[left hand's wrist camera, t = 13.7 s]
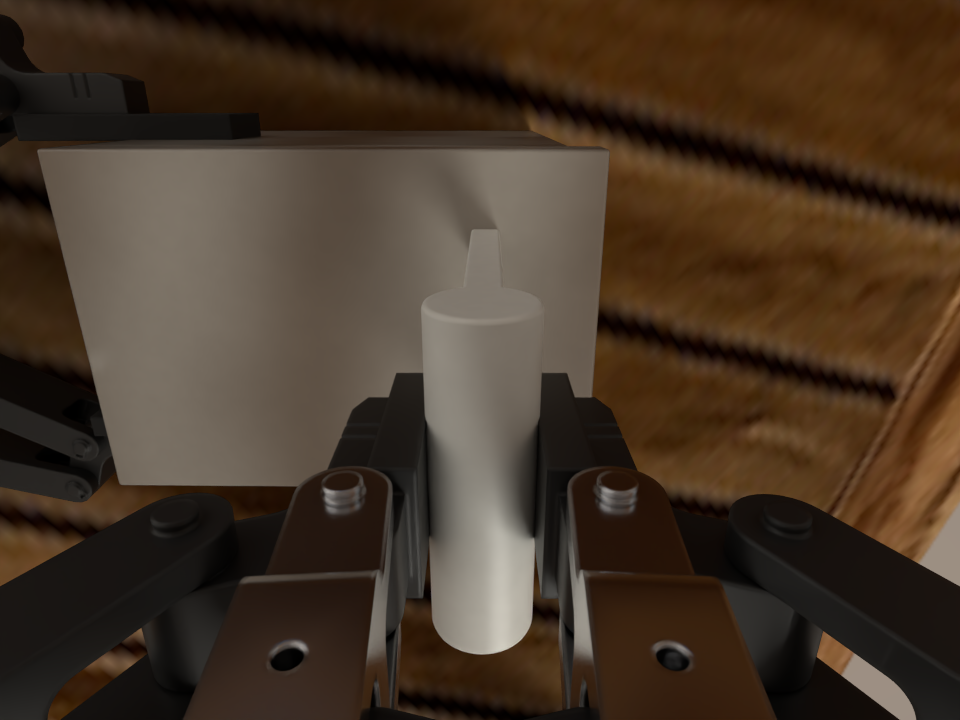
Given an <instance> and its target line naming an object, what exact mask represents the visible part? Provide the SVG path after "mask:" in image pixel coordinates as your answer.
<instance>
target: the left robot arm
mask: <svg viewBox="0 0 960 720" xmlns="http://www.w3.org/2000/svg"><path fill="white" fill-rule="evenodd" d="M429 539H430V526H429V498H428V470H427V442H426V418H425V405H424V378H423V373H396V375H395V378H394V382H393V385H392V388H391V391H390V394H389V397H368V398H367V399H366V400H364V401H363V402H362V403H360V404H359V405H358V406H356V407H355V408H354V409H352V411H351V414H350V416H349V419H348V421H347V423H346V426H345V428H344V431H343V433H342V438H340V440H339V442H338V445H337V447H336V450H335V452H334V454H333V457H332V459H331V461H330V464H329V466H328V469H327V470H324V471H322V472H319V473H317V474H315V475H312V476H311V477H309V478H307V479H306V480H304V481H303V482H302V483H301V484H300V485H299V486H298V487H297V488H296V490H295V492H294V494H293V497H292V500H291V503H290V505H289V508H288V509H286V510H283V511H280V512H277V513H272V514H268V515H263V516H258V517H253V518H248V519H243V520H238V521H234V515H233V509H232V506H231V504H230V503H229V502H228V501H227V500H226V499H224V498H222V497H220V496H217V495H214V494H208V493H188V494H181V495H176V496H171V497H168V498H165V499H161V500H159V501H156V502H154V503H152V504H150V505H148V506H146V507H144V508H142V509H140V510H138V511H136V512H134V513H133V514H131V515H129V516H127V517H125V518H124V519H122V520H120V521H118V522H116V523H114V524H113V525H111V526H109V527H107V528H105V529H104V530H102V531H100V532H98V533H96V534H95V535H93V536H91V537H89V538H87V539H85V540H84V541H82V542H80V543H78V544H76V545H75V546H73V547H71V548H69V549H67V550H66V551H64V552H62V553H60V554H58V555H56V556H55V557H53V558H51V559H49V560H47V561H46V562H44V563H42V564H40V565H38V566H36V567H35V568H33V569H31V570H29V571H27V572H26V573H24V574H22V575H20V576H18V577H17V578H15V579H13V580H11V581H9V582H7V583H6V584H4V585H2V586H0V720H47V718H48V712H49V708H50V706H51V703H52V701H53V699H54V698H55V696H56V694H57V693H58V692H59V690H60V689H61V688H62V687H63V685H64V684H65V683H66V682H67V681H68V680H69V679H71V678H72V677H73V676H74V675H76V674H77V673H78V672H80V671H81V670H83V669H84V668H85V667H87V666H88V665H90V664H91V663H92V662H94V661H95V660H97V659H98V658H99V657H101V656H102V655H104V654H105V653H106V652H108V651H109V650H111V649H112V648H113V647H115V646H116V645H118V644H119V643H120V642H122V641H123V640H125V639H126V638H127V637H129V636H130V635H132V634H133V633H134V632H136V631H137V630H139V629H140V628H142V632H143V635H144V639H145V643H146V647H147V651H148V654H147V655H145V656H144V657H143V658H141V659H140V660H139V661H137V662H136V663H135V664H133V665H132V666H131V667H130V668H128V669H127V670H126V671H124V672H123V673H122V674H120V675H119V676H118V677H116V678H115V679H114V680H112V681H111V682H110V683H108V684H107V685H106V686H104V687H103V688H102V689H100V690H99V691H98V692H97V693H95V694H94V695H93V696H91V697H90V698H89V699H87V700H86V701H85V702H83V703H82V704H81V705H79V706H78V707H77V708H75V709H74V710H73V711H71V712H70V713H69V714H67V715H66V716H65V717H64V718H62V719H61V720H435V719H431V718H427V717H422V716H418V715H414V714H410V713H406V712H402V711H398V710H397V708H398V690H399V672H400V654H401V624H400V622H401V620H402V618H403V614H404V608H405V602H406V598H423V591H424V582H425V574H426V565H427V556H428V547H429ZM534 542H535V550H536V559H537V567H538V575H539V583H540V591H541V598H558V599H559V606H560V624H559V654H560V672H561V690H562V708H563V710H562V711H558V712H554V713H550V714H546V715H542V716H538V717H533V718H529V719H525V720H899V719H898V718H896V717H895V716H894V715H893V714H891V713H890V712H889V711H887V710H886V709H885V708H883V707H882V706H881V705H879V704H878V703H877V702H875V701H874V700H873V699H871V698H870V697H869V696H867V695H866V694H865V693H863V692H862V691H861V690H859V689H858V688H857V687H856V686H854V685H853V684H852V683H850V682H849V681H848V680H846V679H845V678H844V677H842V676H841V675H840V674H838V673H837V672H836V671H834V670H833V669H832V668H830V667H829V666H828V665H827V664H825V663H824V662H823V661H821V660H820V659H819V658H817V657H816V656H817V652H818V648H819V645H820V641H821V637H822V633H823V631H824V632H826V633H827V634H828V635H830V636H831V637H833V638H834V639H835V640H837V641H838V642H840V643H841V644H842V645H844V646H845V647H847V648H848V649H849V650H851V651H852V652H854V653H855V654H856V655H858V656H859V657H861V658H862V659H863V660H865V661H866V662H868V663H869V664H870V665H872V666H873V667H875V668H876V669H877V670H879V671H880V672H882V673H883V674H884V675H886V676H887V677H889V678H890V679H891V680H892V681H894V682H895V683H896V684H897V685H898V686H899V687H900V688H901V690H902V691H903V692H904V693H905V695H906V696H907V697H908V699H909V701H910V702H911V704H912V706H913V709H914V711H915V715H916V720H960V586H958V585H956V584H954V583H952V582H951V581H949V580H947V579H945V578H943V577H942V576H940V575H938V574H936V573H934V572H933V571H931V570H929V569H927V568H925V567H924V566H922V565H920V564H918V563H916V562H914V561H913V560H911V559H909V558H907V557H905V556H904V555H902V554H900V553H898V552H896V551H895V550H893V549H891V548H889V547H887V546H885V545H884V544H882V543H880V542H878V541H876V540H875V539H873V538H871V537H869V536H867V535H865V534H864V533H862V532H860V531H858V530H856V529H855V528H853V527H851V526H849V525H847V524H846V523H844V522H842V521H840V520H838V519H836V518H835V517H833V516H831V515H829V514H827V513H826V512H824V511H822V510H820V509H818V508H816V507H814V506H812V505H810V504H808V503H805V502H803V501H800V500H797V499H793V498H789V497H785V496H779V495H771V494H756V495H750V496H746V497H743V498H741V499H739V500H737V501H736V502H735V503H733V505H732V506H731V508H730V513H729V518H728V521H726V520H721V519H716V518H711V517H706V516H701V515H696V514H692V513H687V512H684V511H681V510H678V509H676V508H673V507H671V505H670V503H669V500H668V497H667V494H666V492H665V490H664V488H663V487H662V486H661V485H660V484H659V483H658V482H657V481H656V480H654V479H653V478H651V477H649V476H648V475H645V474H643V473H641V472H638V471H637V468H636V466H635V464H634V461H633V459H632V457H631V454H630V452H629V450H628V448H627V445H626V443H625V441H624V438H622V434H621V431H620V429H619V427H618V426H617V422H616V420H615V417H614V415H613V413H612V411H611V409H610V408H608V407H607V406H606V405H604V404H603V403H602V402H600V401H599V400H598V399H596V398H595V397H575V396H574V393H573V390H572V387H571V384H570V380H569V377H568V374H567V373H542V377H541V402H540V418H539V420H538V445H537V471H536V497H535V523H534Z"/></svg>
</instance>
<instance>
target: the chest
mask: <svg viewBox="0 0 960 720" xmlns="http://www.w3.org/2000/svg"><path fill="white" fill-rule="evenodd" d="M260 132H261V136H257V137H250V138H243V139H235V140H124V141H114V142H103V143H93V144H83V145H72V146H525V147H568V146H566V145H563V144H561V143H559V142H556V141H554V140H552V139H549V138H547V137H545V136H542V135H540V134H538V133H535V132H533V131H260Z"/></svg>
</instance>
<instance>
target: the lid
mask: <svg viewBox="0 0 960 720" xmlns="http://www.w3.org/2000/svg"><path fill="white" fill-rule="evenodd" d="M37 153H38V157H39V161H40V165H41V169H42V173H43V177H44V181H45V185H46V189H47V193H48V197H49V201H50V205H51V209H52V213H53V217H54V221H55V225H56V229H57V233H58V238H59V242H60V246H61V250H62V254H63V258H64V262H65V266H66V270H67V274H68V278H69V282H70V286H71V290H72V294H73V298H74V302H75V306H76V310H77V314H78V318H79V322H80V326H81V330H82V334H83V338H84V342H85V347H86V351H87V355H88V359H89V363H90V367H91V371H92V375H93V379H94V383H95V387H96V391H97V395H98V399H99V403H100V407H101V411H102V415H103V419H104V423H105V427H106V431H107V435H108V439H109V443H110V447H111V452H112V456H113V460H114V464H115V468H116V472H117V476H118V480H119V483H120V484H121V485H200V486H299V485H300V484H301V483H302V482H303V481H304V480H306V479H307V478H309V477H311V476H312V475H315V474H317V473H319V472H322V471H324V470H327V469H328V466H329V464H330V461H331V459H332V457H333V454H334V452H335V450H336V447H337V445H338V442H339V440H340V438H342V433H343V431H344V428H345V426H346V423H347V421H348V419H349V416H350V414H351V411H352V409H354V408H355V407H356V406H358V405H359V404H360V403H362V402H363V401H364V400H366V399H367V398H368V397H389V394H390V391H391V388H392V385H393V382H394V378H395V375H396V373H423V378H424V405H425V418H426V442H427V470H428V498H429V526H430V539H429V543H430V571H431V598H432V619H433V624H434V627H435V629H436V630H437V632H438V634H439V635H440V636H441V638H442V639H443V640H444V641H445V642H447V643H448V644H449V645H451V646H452V647H454V648H456V649H458V650H461V651H464V652H467V653H473V654H492V653H497V652H501V651H504V650H506V649H508V648H510V647H512V646H514V645H515V644H517V643H518V642H519V641H520V640H521V639H522V638H523V637H524V636H525V634H526V633H527V631H528V629H529V627H530V625H531V621H532V606H533V581H534V555H535V542H534V523H535V497H536V471H537V445H538V420H539V418H540V402H541V377H542V373H567V374H568V377H569V380H570V384H571V387H572V390H573V393H574V396H575V397H592V390H593V376H594V362H595V348H596V335H597V321H598V307H599V293H600V280H601V266H602V252H603V238H604V224H605V211H606V197H607V183H608V169H609V155H610V152H609V150H608V149H605V148H602V147H525V146H62V147H52V148H41V149H39V150H38V152H37Z"/></svg>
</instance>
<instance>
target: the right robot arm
mask: <svg viewBox="0 0 960 720" xmlns="http://www.w3.org/2000/svg"><path fill="white" fill-rule="evenodd" d="M23 46H24V36H23V33H22V30H21V28H20V27H19V25H18V24H17V23H16V22H15V21H14V20H13V19H11V18H10V17H7V16H5V15H1V14H0V147H1V146H2V145H4V144H5V143H7V142H8V141H10V140H11V139H13V138H14V137H16V136H18V140H19V141H124V140H235V139H243V138H250V137H257V136H261V132H260V124H259V115H258V113H150V112H149V107H148V101H147V96H146V90H145V85H144V82H143V81H141V80H138V79H136V78H133V77H131V76H128V75H122V74H110V73H44V72H42V71H41V70H39V69H38V68H36V67H35V66H34V65H33V64H32V63H31V61H30V60H29V58H28V57H27V55H26V53H25V52H24V50H23ZM115 472H116V468H115V464H114V460H113V456H112V452H111V447H110V443H109V439H108V435H107V431H106V427H105V423H104V419H103V415H102V411H101V407H100V403H99V399H98V396H97V395H95V394H93V393H90V392H88V391H86V390H83V389H81V388H79V387H76V386H74V385H72V384H69V383H67V382H65V381H62V380H60V379H58V378H55V377H53V376H51V375H49V374H46V373H44V372H42V371H39V370H37V369H35V368H32V367H30V366H28V365H25V364H23V363H21V362H18V361H16V360H14V359H11V358H9V357H7V356H4V355H2V354H0V487H4V488H9V489H14V490H19V491H24V492H29V493H34V494H39V495H44V496H49V497H53V498H58V499H63V500H68V501H73V502H84V501H87V500H88V499H89V498H90V497H91V496H92V495H93V494H94V493H95V492H96V491H97V490H98V489H99V488H100V487H101V486H102V485H103V484H104V483H105V482H106V481H107V480H108V479H109V478H110V477H111V476H112V475H113V474H114V473H115Z"/></svg>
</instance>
